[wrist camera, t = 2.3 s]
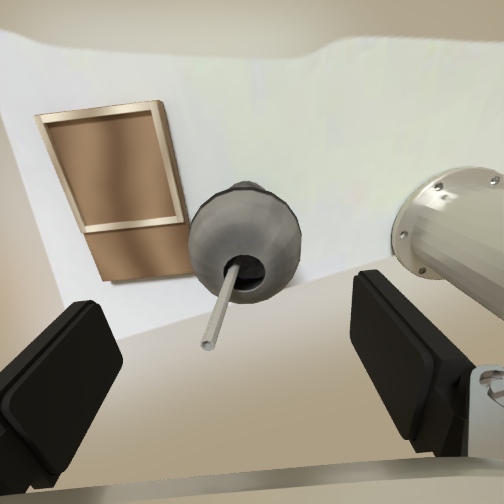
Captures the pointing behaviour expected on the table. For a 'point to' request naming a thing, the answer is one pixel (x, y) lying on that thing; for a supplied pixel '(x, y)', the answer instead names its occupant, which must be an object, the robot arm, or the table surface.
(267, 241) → the beverage cup
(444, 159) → the table surface
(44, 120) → the walnut board
